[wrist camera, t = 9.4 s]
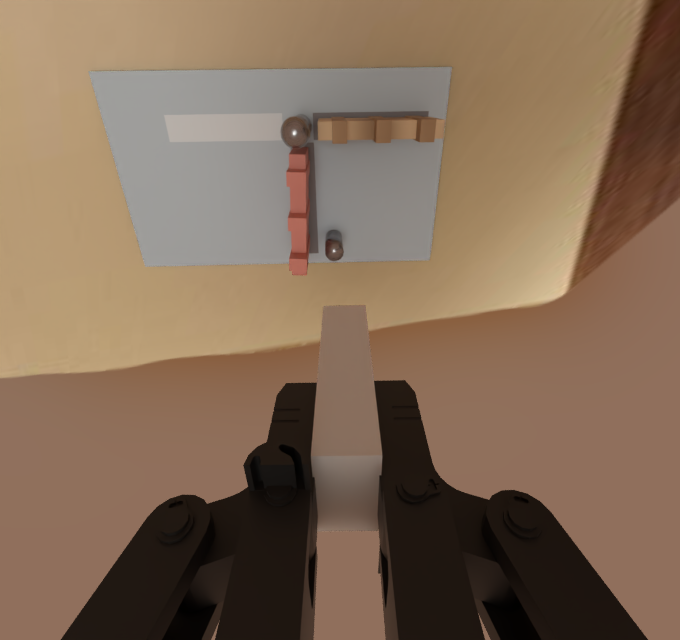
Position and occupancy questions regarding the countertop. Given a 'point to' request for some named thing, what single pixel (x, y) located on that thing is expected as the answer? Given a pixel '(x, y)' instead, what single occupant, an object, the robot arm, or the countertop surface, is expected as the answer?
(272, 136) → the card
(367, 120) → the fence fixed
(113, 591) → the robot arm
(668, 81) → the countertop surface
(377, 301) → the countertop surface
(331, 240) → the peg
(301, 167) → the fence panel
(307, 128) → the post
